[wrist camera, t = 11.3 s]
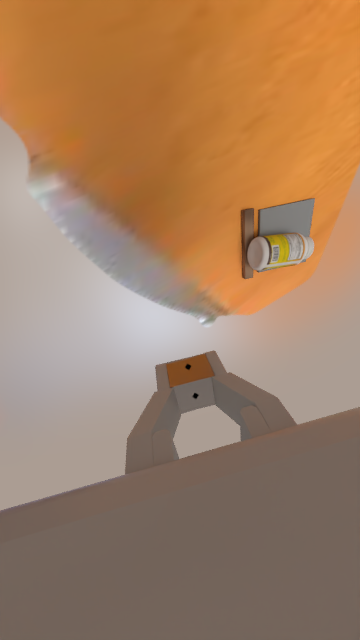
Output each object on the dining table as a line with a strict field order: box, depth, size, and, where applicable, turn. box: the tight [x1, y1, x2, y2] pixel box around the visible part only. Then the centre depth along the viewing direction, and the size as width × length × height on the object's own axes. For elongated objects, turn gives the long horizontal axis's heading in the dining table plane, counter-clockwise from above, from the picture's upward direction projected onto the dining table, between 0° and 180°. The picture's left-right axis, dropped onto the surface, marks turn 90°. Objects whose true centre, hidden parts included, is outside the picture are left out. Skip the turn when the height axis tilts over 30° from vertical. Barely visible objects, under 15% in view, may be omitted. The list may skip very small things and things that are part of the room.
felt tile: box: [257, 198, 315, 272], centre depth 37 cm, size 11×10×1 cm
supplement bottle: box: [247, 233, 314, 270], centre depth 35 cm, size 6×6×10 cm
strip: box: [242, 208, 254, 279], centre depth 37 cm, size 12×2×1 cm, turn 10°
